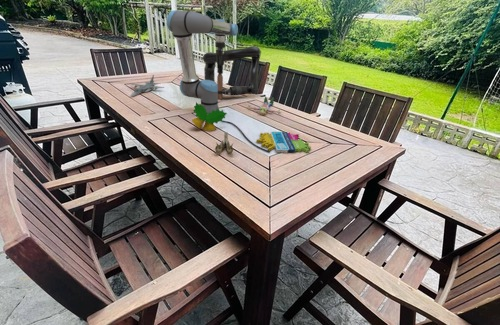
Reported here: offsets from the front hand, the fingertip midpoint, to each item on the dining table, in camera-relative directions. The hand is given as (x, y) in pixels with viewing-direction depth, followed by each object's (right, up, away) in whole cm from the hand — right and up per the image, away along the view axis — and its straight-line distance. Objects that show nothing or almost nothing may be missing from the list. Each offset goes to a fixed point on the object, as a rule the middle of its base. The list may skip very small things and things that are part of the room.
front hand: (220, 73), depth 214 cm
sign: (+43, -62, -62) cm, 98 cm away
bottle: (-1, -19, +10) cm, 21 cm away
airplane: (-67, -11, +16) cm, 70 cm away
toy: (+37, -32, -9) cm, 50 cm away
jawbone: (+11, -68, -76) cm, 102 cm away
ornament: (-1, -52, -49) cm, 72 cm away
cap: (0, +2, -1) cm, 2 cm away
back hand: (-3, -14, +6) cm, 15 cm away
